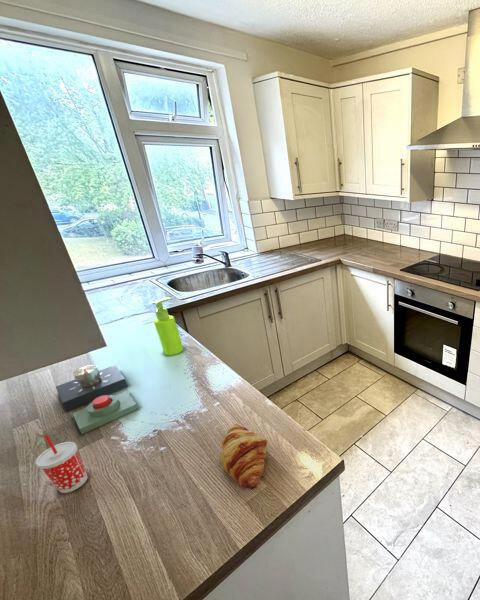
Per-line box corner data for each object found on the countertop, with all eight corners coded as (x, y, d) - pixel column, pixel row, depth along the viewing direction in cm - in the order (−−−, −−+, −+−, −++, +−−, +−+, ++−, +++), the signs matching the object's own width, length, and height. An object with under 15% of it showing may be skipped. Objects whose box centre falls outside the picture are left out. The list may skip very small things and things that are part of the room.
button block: (81, 434, 84) (76, 424, 82) (74, 417, 89) (69, 407, 87) (138, 408, 92) (134, 398, 91) (128, 395, 97) (124, 385, 96)
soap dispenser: (189, 347, 121) (175, 298, 113) (171, 356, 116) (154, 305, 107) (179, 343, 124) (164, 295, 115) (160, 353, 118) (143, 302, 110)
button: (96, 411, 87) (93, 406, 86) (93, 405, 89) (90, 400, 88) (113, 403, 89) (110, 398, 89) (109, 398, 92) (107, 393, 91)
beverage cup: (66, 473, 73) (39, 426, 68) (98, 468, 75) (73, 421, 69) (46, 499, 68) (14, 450, 62) (81, 493, 69) (53, 444, 64)
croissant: (226, 446, 85) (203, 432, 80) (259, 417, 88) (239, 402, 83) (246, 511, 69) (219, 498, 64) (285, 473, 72) (262, 458, 67)
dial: (77, 382, 98) (71, 369, 96) (100, 374, 101) (94, 361, 99) (80, 390, 95) (74, 376, 93) (103, 381, 98) (97, 368, 96)
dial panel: (66, 411, 91) (61, 402, 90) (59, 394, 97) (55, 385, 96) (128, 386, 101) (124, 378, 100) (118, 372, 107) (114, 364, 106)
